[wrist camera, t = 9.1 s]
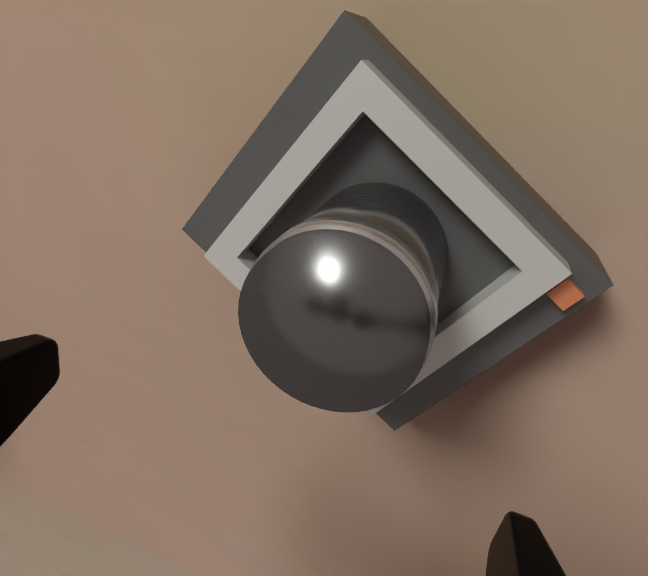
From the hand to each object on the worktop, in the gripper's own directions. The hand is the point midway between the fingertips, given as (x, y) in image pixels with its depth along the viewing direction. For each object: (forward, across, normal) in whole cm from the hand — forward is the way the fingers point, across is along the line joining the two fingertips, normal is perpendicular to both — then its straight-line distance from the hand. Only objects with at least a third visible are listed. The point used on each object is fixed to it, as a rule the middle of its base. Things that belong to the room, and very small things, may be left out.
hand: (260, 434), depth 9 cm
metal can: (+10, 0, 0) cm, 10 cm away
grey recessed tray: (+13, 0, 0) cm, 13 cm away
